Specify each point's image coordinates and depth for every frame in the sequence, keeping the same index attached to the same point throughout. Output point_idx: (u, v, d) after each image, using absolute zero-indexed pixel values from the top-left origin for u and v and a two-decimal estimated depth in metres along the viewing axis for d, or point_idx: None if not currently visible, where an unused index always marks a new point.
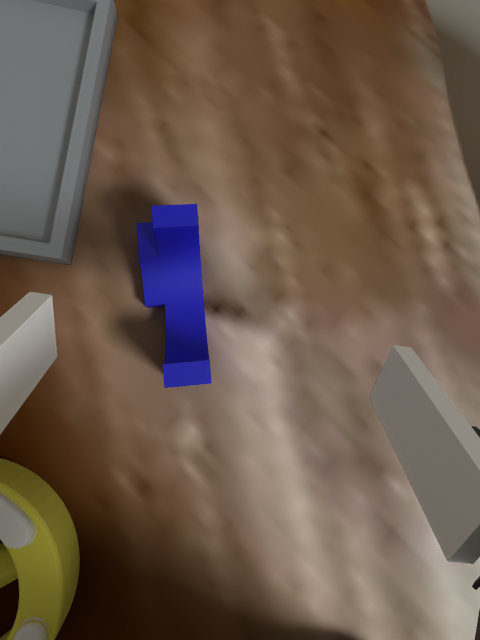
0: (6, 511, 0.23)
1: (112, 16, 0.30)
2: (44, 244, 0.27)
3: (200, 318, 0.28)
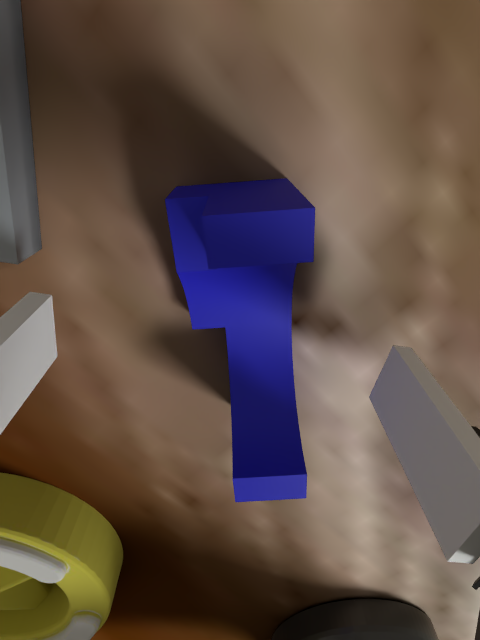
0: (30, 562, 0.20)
1: None
2: None
3: (283, 351, 0.17)
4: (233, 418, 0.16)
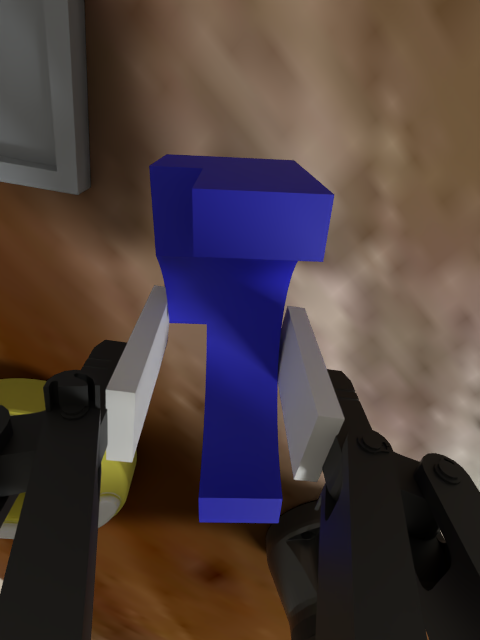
0: None
1: None
2: (50, 173, 0.19)
3: (269, 356, 0.15)
4: (206, 427, 0.15)
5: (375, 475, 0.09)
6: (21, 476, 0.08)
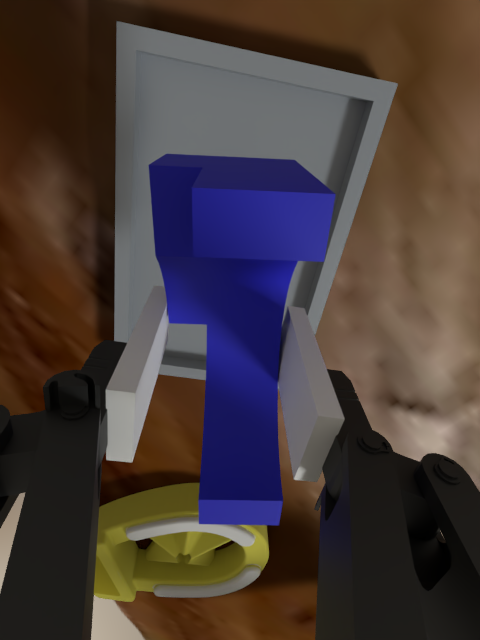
0: (240, 534, 0.37)
1: None
2: None
3: (270, 357, 0.15)
4: (205, 428, 0.15)
5: (376, 475, 0.09)
6: (21, 476, 0.08)
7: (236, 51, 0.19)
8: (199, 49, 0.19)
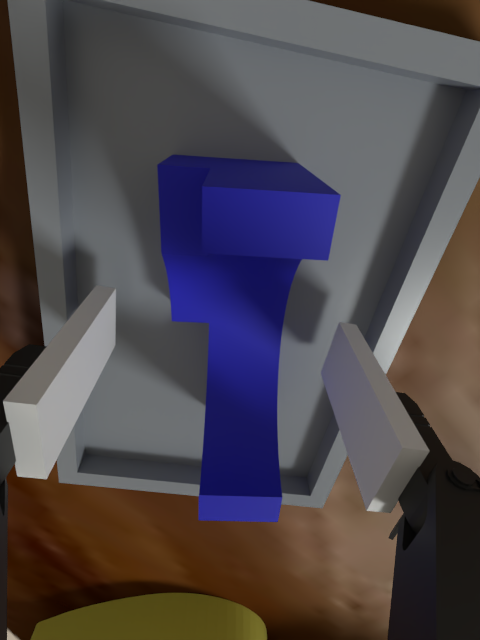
0: None
1: None
2: (304, 497, 0.21)
3: (270, 356, 0.15)
4: (206, 425, 0.15)
5: (466, 511, 0.08)
6: None
7: None
8: None
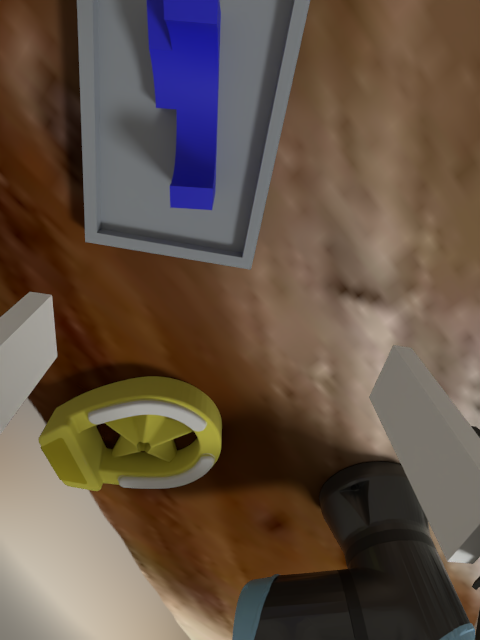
0: (192, 417, 0.41)
1: None
2: (238, 258, 0.33)
3: (211, 133, 0.27)
4: (175, 167, 0.27)
5: None
6: None
7: None
8: None
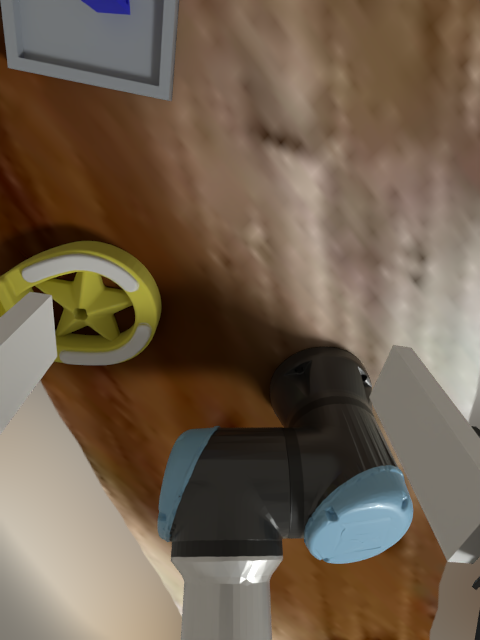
0: (122, 274, 0.42)
1: None
2: (155, 87, 0.35)
3: None
4: None
5: None
6: None
7: None
8: None
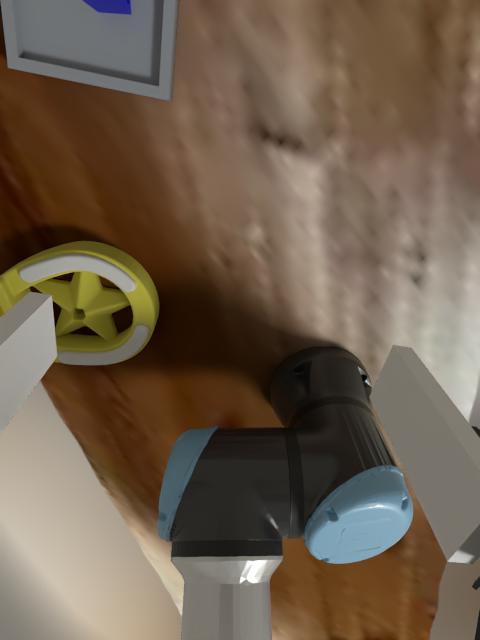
0: (120, 274, 0.42)
1: None
2: (155, 87, 0.35)
3: None
4: None
5: None
6: None
7: None
8: None
